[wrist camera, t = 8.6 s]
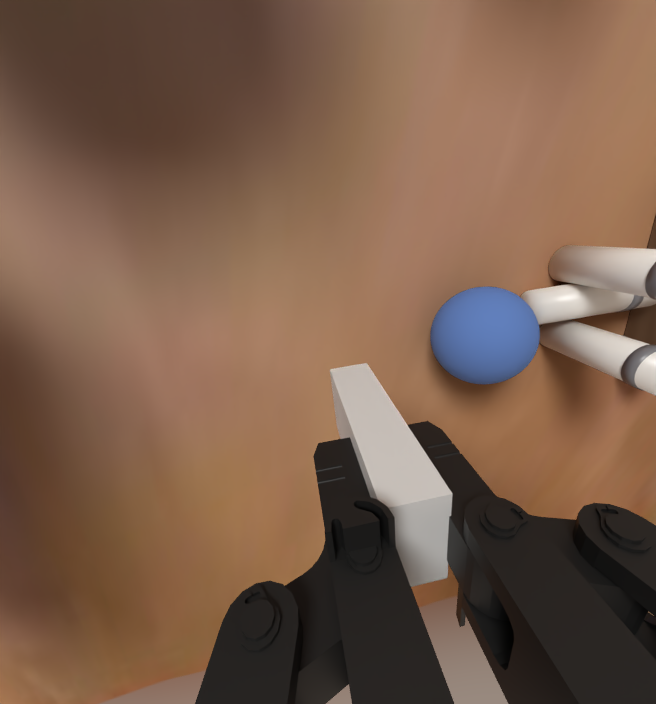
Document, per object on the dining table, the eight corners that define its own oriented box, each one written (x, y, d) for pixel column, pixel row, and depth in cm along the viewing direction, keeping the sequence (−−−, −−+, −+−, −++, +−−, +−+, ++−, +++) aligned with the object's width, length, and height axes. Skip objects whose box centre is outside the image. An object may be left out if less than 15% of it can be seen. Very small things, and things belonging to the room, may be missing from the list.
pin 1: (545, 284, 22) (692, 314, 14) (550, 246, 21) (713, 256, 13) (578, 279, 22) (742, 306, 14) (585, 242, 21) (765, 248, 13)
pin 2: (535, 349, 23) (659, 408, 16) (539, 318, 23) (675, 364, 15) (565, 344, 24) (703, 400, 16) (571, 313, 23) (722, 356, 15)
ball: (542, 376, 20) (455, 349, 24) (568, 285, 17) (466, 272, 21) (500, 417, 17) (408, 377, 21) (525, 312, 14) (414, 290, 18)
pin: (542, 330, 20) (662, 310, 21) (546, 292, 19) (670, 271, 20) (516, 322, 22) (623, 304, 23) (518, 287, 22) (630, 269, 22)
